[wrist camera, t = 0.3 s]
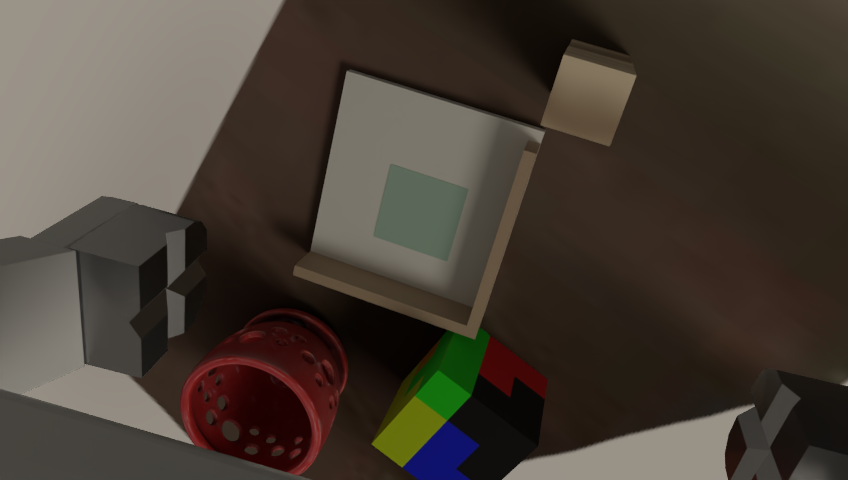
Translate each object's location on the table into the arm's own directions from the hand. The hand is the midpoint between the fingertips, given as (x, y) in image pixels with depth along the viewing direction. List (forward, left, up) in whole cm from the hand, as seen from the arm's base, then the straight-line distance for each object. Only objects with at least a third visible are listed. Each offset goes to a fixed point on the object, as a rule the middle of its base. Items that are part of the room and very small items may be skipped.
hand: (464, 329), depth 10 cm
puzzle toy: (+32, +1, -47) cm, 57 cm away
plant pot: (+36, -16, -47) cm, 61 cm away
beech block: (+2, +2, -47) cm, 47 cm away
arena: (+16, -9, -47) cm, 50 cm away
